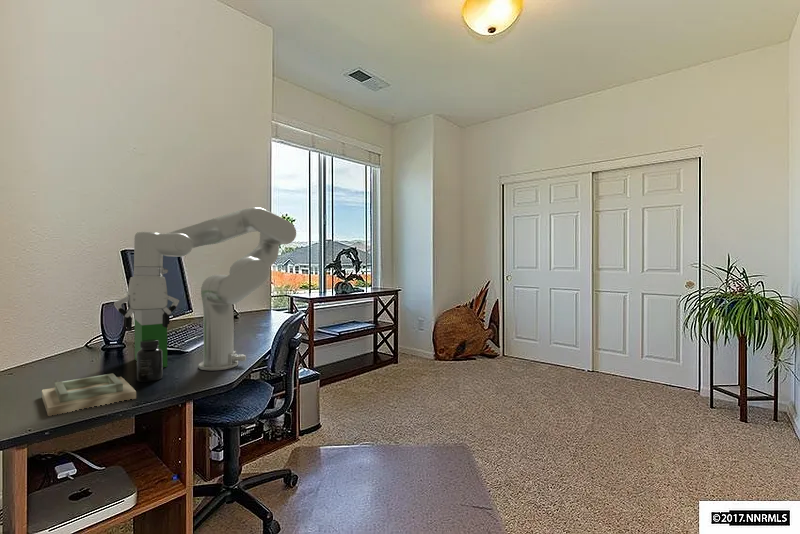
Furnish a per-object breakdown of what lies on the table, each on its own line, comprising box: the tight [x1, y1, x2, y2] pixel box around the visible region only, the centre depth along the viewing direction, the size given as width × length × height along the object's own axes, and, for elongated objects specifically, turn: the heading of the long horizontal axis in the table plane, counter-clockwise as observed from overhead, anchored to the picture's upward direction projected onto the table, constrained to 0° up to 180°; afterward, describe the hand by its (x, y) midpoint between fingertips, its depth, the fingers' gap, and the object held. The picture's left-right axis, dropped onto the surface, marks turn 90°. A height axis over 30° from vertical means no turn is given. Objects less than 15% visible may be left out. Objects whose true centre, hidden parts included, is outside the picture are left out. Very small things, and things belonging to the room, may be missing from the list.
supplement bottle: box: [136, 339, 164, 383], centre depth 128 cm, size 7×7×12 cm
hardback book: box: [133, 309, 168, 368], centre depth 146 cm, size 18×7×24 cm, turn 39°
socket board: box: [41, 372, 137, 417], centre depth 111 cm, size 18×18×4 cm
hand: (147, 328), depth 127 cm, fingers open, 9 cm apart
